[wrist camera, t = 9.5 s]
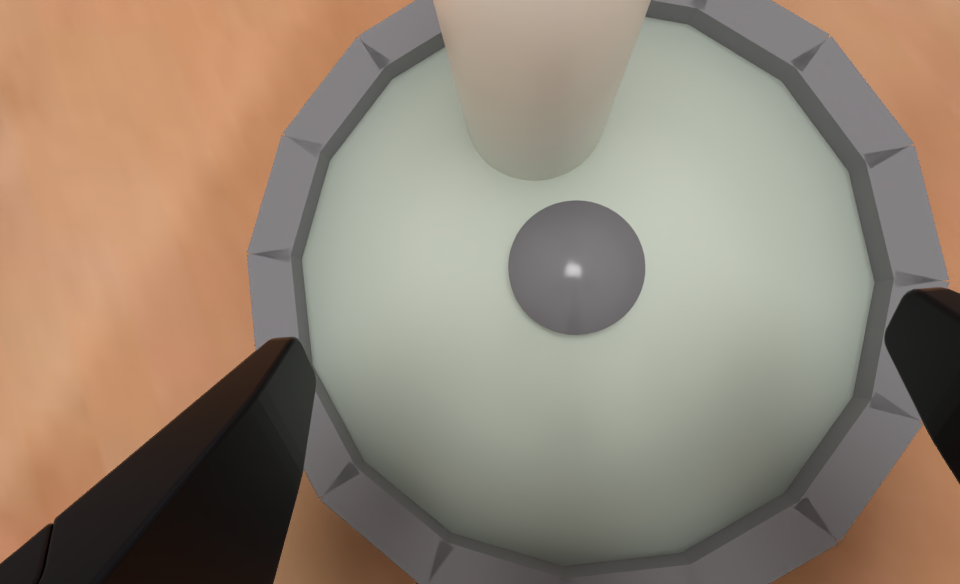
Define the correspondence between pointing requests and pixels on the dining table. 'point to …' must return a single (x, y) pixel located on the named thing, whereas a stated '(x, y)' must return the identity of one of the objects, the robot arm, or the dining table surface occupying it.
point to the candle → (538, 76)
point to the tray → (601, 308)
